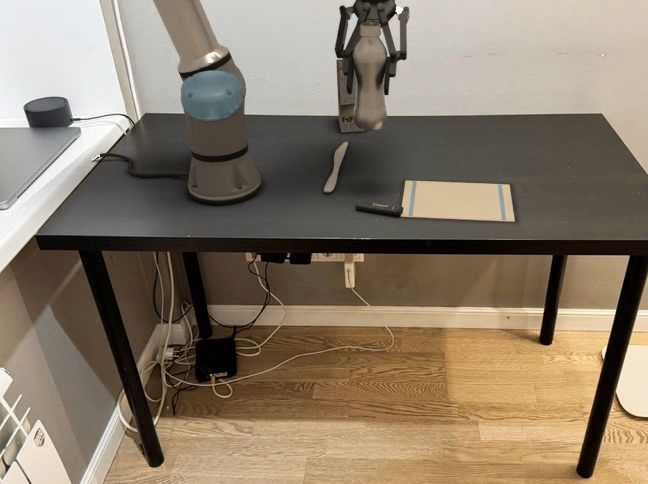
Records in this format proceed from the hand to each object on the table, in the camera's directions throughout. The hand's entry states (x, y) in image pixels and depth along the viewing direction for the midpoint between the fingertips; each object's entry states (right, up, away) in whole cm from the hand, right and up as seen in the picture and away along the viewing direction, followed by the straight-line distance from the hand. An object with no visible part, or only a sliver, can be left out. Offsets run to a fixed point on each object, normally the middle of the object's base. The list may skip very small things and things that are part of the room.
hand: (367, 91), depth 122 cm
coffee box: (-4, +3, +46) cm, 46 cm away
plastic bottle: (+1, -5, +8) cm, 10 cm away
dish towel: (+18, -19, +10) cm, 29 cm away
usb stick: (+2, -22, +7) cm, 23 cm away
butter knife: (-7, -10, +25) cm, 28 cm away
